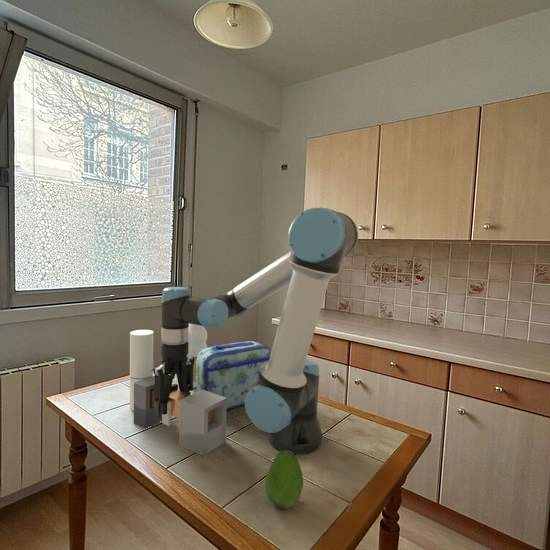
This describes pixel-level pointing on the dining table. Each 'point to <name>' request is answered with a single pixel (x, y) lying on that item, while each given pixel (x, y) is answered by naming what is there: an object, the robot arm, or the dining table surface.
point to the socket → (144, 404)
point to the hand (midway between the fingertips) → (174, 419)
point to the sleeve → (202, 422)
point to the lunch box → (230, 370)
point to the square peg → (174, 402)
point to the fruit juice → (196, 344)
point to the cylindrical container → (140, 358)
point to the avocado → (284, 480)
